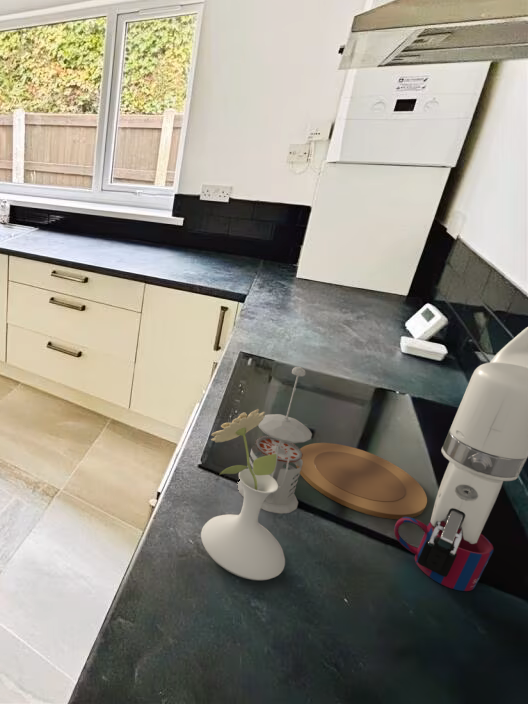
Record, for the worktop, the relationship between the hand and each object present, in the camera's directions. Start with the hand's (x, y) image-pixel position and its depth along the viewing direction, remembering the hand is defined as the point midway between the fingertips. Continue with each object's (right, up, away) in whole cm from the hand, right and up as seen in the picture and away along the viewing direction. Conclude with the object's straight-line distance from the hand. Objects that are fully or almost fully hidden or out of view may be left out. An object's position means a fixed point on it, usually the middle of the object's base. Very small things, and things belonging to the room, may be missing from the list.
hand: (437, 553), depth 67 cm
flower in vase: (-29, -1, +2) cm, 29 cm away
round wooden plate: (+2, +4, +19) cm, 19 cm away
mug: (0, -2, +1) cm, 3 cm away
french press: (-17, +3, +14) cm, 23 cm away
